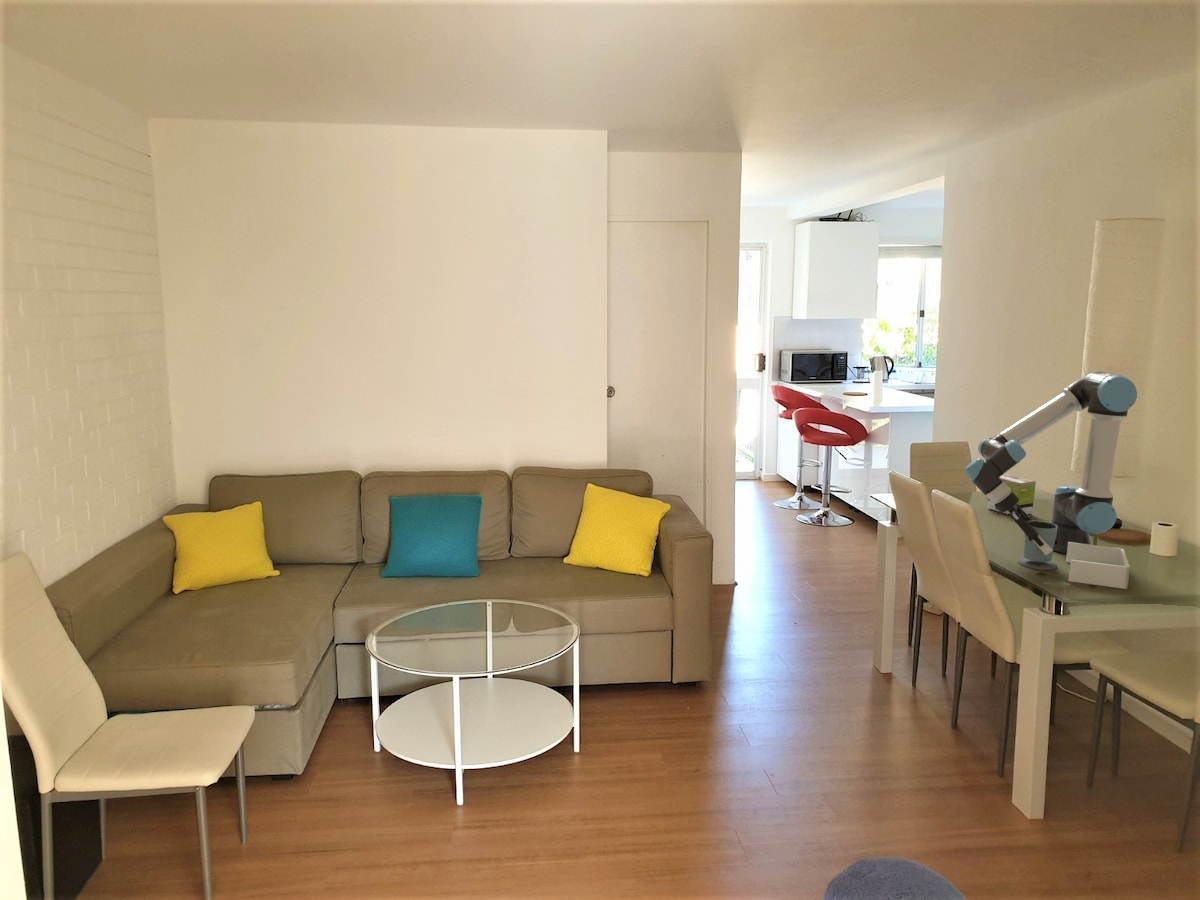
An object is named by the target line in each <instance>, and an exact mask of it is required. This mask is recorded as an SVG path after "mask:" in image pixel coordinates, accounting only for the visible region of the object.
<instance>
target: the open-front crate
mask: <svg viewBox="0 0 1200 900" xmlns="http://www.w3.org/2000/svg"><path fill="white" fill-rule="evenodd" d="M1065 563H1069V564H1070V565H1069V573H1068V582H1072V583H1080V584H1087V585H1093V586H1103V587H1109V588H1114V589H1115V588H1116V589H1125V590H1128V587H1129V580H1130V572H1131V571H1130V570H1131V566H1130V563H1129V561H1128V558H1127V555H1126V551H1125V549H1124V548H1122V547H1114V546H1106V545H1096V544H1092V545H1090V544H1082V543H1073V542H1068V548H1067V553H1066V558H1065Z"/></svg>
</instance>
